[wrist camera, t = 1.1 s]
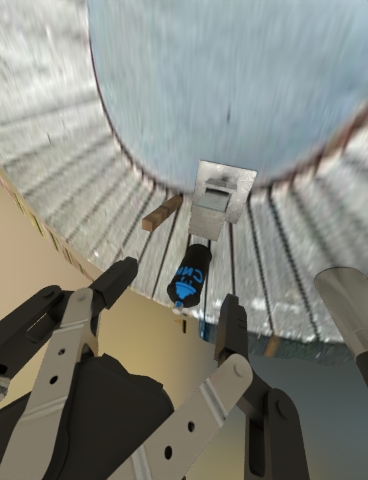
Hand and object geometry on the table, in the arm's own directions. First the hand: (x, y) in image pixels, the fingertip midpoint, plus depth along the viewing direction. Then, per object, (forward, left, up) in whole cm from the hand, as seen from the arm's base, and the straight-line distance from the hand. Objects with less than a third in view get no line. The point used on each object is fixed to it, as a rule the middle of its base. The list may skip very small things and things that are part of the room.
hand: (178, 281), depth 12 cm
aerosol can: (+1, +20, -28) cm, 34 cm away
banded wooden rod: (+10, +4, -28) cm, 30 cm away
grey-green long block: (0, 0, -26) cm, 26 cm away
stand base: (0, 0, -28) cm, 28 cm away
